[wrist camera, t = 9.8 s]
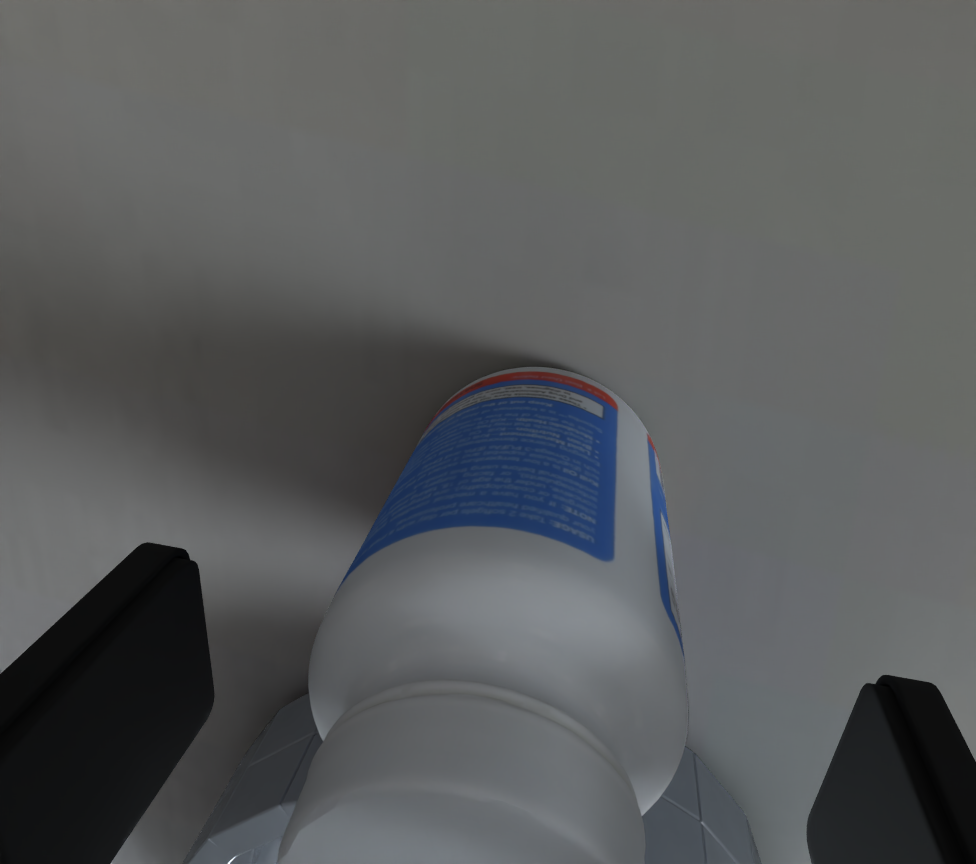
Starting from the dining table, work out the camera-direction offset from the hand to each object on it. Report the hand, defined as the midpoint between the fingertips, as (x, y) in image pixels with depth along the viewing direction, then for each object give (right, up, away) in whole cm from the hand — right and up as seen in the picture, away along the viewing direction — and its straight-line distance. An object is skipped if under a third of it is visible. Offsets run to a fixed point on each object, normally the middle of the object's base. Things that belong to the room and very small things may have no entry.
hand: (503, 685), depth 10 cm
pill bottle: (+1, +3, +6) cm, 7 cm away
